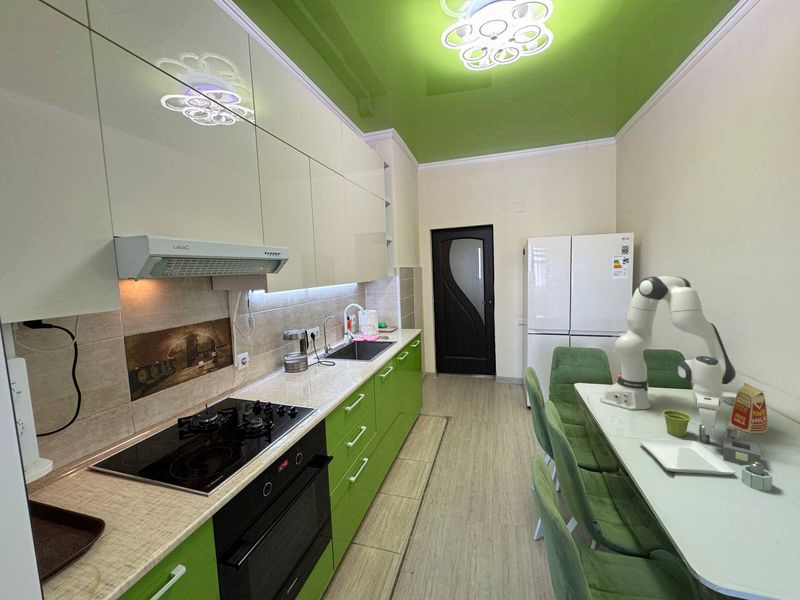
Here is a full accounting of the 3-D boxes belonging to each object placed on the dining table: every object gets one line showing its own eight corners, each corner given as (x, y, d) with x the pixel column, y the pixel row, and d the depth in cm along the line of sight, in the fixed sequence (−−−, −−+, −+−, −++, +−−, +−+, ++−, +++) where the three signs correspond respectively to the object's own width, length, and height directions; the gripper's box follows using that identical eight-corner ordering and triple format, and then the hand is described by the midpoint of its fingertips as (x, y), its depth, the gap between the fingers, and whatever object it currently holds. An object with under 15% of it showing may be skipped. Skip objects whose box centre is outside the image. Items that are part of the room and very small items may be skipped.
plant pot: (686, 430, 144) (686, 411, 143) (694, 440, 135) (694, 421, 135) (659, 427, 148) (659, 409, 147) (666, 437, 139) (666, 418, 139)
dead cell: (749, 484, 107) (750, 463, 106) (748, 479, 109) (749, 458, 109) (764, 488, 105) (764, 466, 104) (763, 483, 107) (763, 462, 106)
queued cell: (726, 446, 130) (726, 428, 129) (726, 443, 132) (726, 425, 131) (737, 449, 128) (738, 431, 127) (737, 446, 130) (737, 428, 129)
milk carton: (728, 424, 146) (729, 381, 144) (747, 422, 147) (748, 379, 145) (752, 434, 137) (753, 389, 135) (771, 432, 138) (773, 386, 136)
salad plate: (694, 447, 131) (694, 439, 131) (737, 481, 111) (737, 471, 110) (636, 445, 136) (636, 437, 136) (666, 477, 115) (666, 468, 115)
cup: (742, 487, 107) (742, 472, 107) (741, 477, 112) (741, 462, 111) (772, 496, 102) (773, 480, 102) (770, 485, 107) (770, 470, 107)
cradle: (723, 462, 120) (723, 447, 120) (723, 451, 127) (723, 436, 127) (760, 472, 114) (760, 456, 113) (757, 459, 121) (758, 444, 120)
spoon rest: (717, 397, 174) (717, 384, 173) (749, 401, 167) (749, 388, 166) (727, 415, 155) (728, 400, 154) (763, 420, 148) (764, 405, 147)
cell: (699, 442, 134) (699, 425, 133) (699, 439, 136) (699, 422, 136) (709, 445, 132) (710, 427, 131) (709, 441, 134) (710, 424, 133)
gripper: (697, 387, 142) (697, 418, 143) (696, 403, 127) (697, 437, 128) (717, 390, 137) (717, 421, 138) (719, 407, 123) (719, 442, 123)
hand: (707, 429), depth 133 cm, fingers open, 8 cm apart
